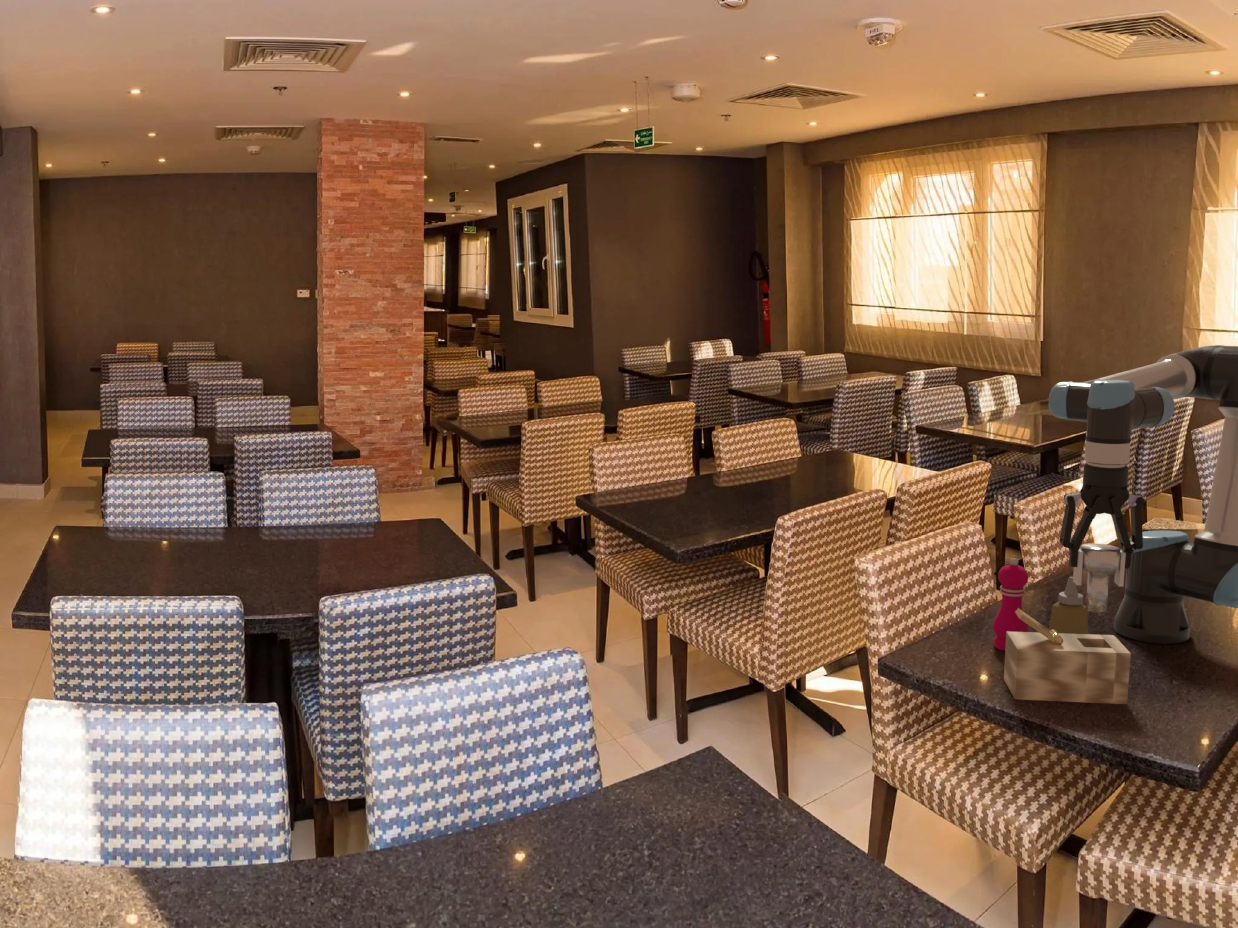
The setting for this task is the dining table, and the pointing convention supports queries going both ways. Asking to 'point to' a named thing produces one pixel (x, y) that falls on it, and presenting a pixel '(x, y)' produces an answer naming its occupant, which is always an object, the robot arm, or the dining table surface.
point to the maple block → (1067, 668)
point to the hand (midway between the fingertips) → (1097, 583)
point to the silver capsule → (1099, 573)
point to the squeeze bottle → (1069, 612)
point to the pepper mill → (1010, 602)
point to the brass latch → (1040, 627)
